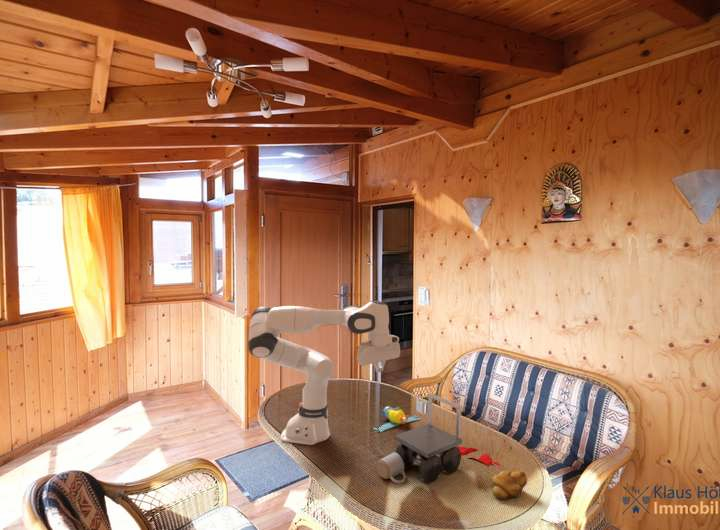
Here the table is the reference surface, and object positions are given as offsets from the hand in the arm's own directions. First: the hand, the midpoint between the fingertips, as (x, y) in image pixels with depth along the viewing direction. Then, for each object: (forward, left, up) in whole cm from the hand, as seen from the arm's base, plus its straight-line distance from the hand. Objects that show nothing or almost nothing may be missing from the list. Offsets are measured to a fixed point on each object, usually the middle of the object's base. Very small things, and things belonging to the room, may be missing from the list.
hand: (379, 371), depth 174 cm
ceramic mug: (+6, -19, -35) cm, 40 cm away
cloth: (+39, 0, -36) cm, 53 cm away
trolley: (+19, -13, -35) cm, 42 cm away
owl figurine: (+8, +29, -35) cm, 47 cm away
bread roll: (+45, -27, -35) cm, 63 cm away
